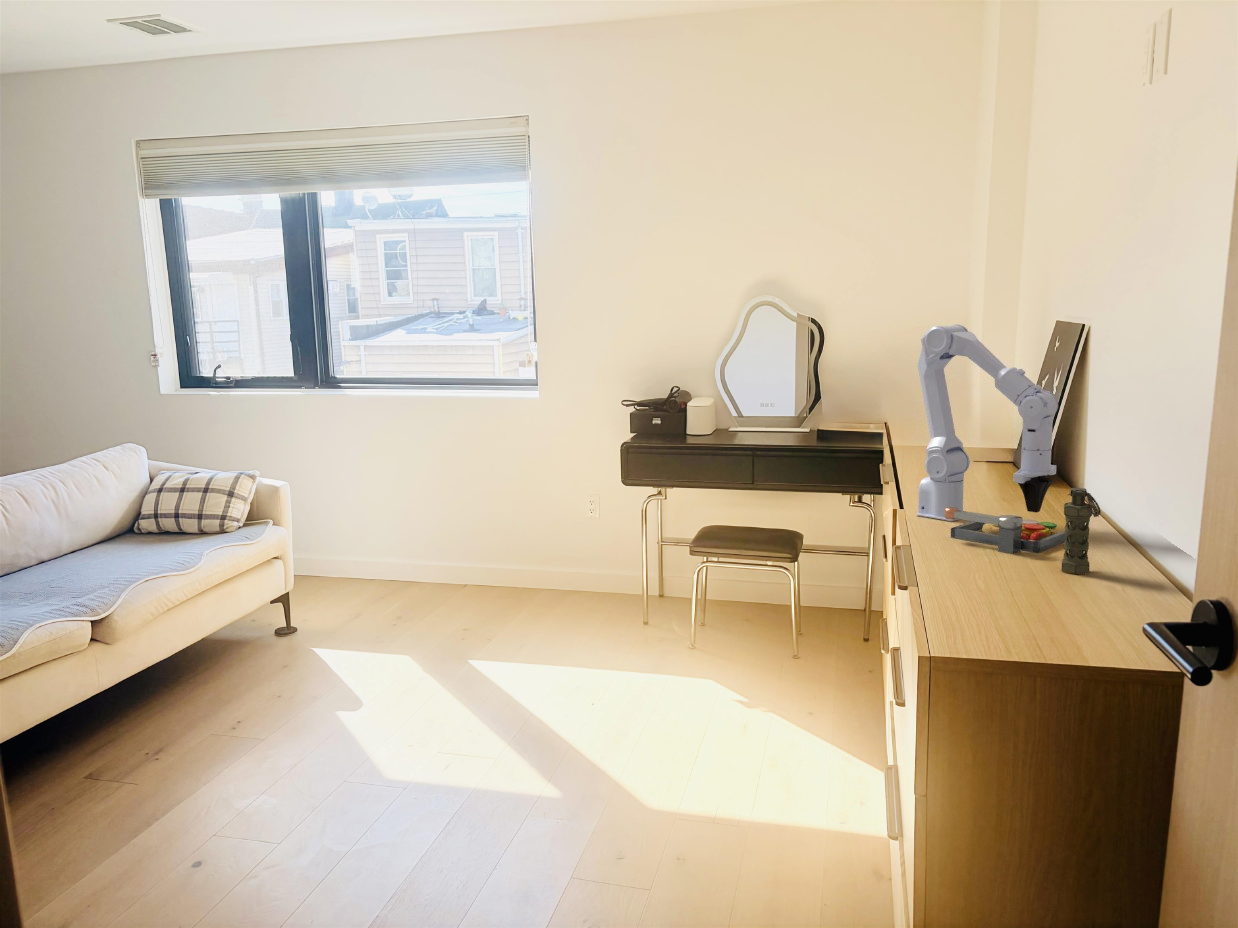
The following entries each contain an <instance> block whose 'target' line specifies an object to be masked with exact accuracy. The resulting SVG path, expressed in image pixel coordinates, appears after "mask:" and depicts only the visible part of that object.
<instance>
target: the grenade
mask: <svg viewBox="0 0 1238 928" xmlns="http://www.w3.org/2000/svg"><path fill="white" fill-rule="evenodd" d="M1067 496H1071V502H1064V505H1063V515H1064V517H1065V518H1064V519H1065V526H1064V531H1065V536H1066V537H1065V541H1064V543H1063V547H1064V553H1063V558H1062V559H1061V571H1062V572H1064V573H1065V574H1066V573H1067V574H1070V575H1086V574H1089V573H1090V561H1089V555H1088V552H1089V549H1090V547H1089V546H1090V545H1089V538H1090V537H1089V536H1090V527H1089V526H1090V520H1091V517H1092V516H1093V517H1094V518H1098V517H1099V516H1100V515H1101V513H1102V512H1101V511H1102V510H1101V508H1100V505H1099V503H1098V502H1097V501H1096V499H1095V498H1094V497H1093V495H1092V494H1091V493H1089V492H1088V490H1087V488H1082V487H1081V488H1080V487H1072V488H1070V492H1069V493H1068V494H1067ZM1086 499H1087V501H1088V502H1086ZM1068 537H1069V539H1068Z"/></svg>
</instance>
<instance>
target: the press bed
mask: <svg viewBox="0 0 1238 928" xmlns="http://www.w3.org/2000/svg"><path fill="white" fill-rule="evenodd" d="M984 524H986V523H982V522H975V521H968V522H965V523H962V524H959V525H956V526H953V527H950V538H952V539H957V540H964V541H969V542H974V543H980V544H983V545H984V544H985V545H991V546H995V547H997V552H999V553H1006V554H1009V553H1010V555H1015V554H1017V553H1020V552H1021V551H1022V552H1023V551H1024V552H1029V553H1033V554H1039V553H1042V552H1045V551H1047V550H1050V549H1052V548H1055V547H1057V546H1061V545H1062V544H1063V545H1064V541H1065V537H1066V536H1065V530H1062V531H1060V532H1057V533H1055V534H1054V535H1052V536H1049V537H1046V538H1043V539H1041V540H1038V541H1029V540H1024V539H1021V529H1004V528H999V535H995V534H989V533H986V532H984V531H982V528H983V525H984ZM981 531H982V532H981ZM1068 539H1069V537H1068ZM1014 553H1015V554H1014Z"/></svg>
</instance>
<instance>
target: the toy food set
mask: <svg viewBox="0 0 1238 928" xmlns="http://www.w3.org/2000/svg"><path fill="white" fill-rule="evenodd" d="M1057 527H1058V525H1057V523H1054V522H1049V521H1041V522H1039V521H1038V520H1035V519H1029V518H1028V519H1025V518H1023V527H1022V528H1021V539H1024V540H1029V541H1038V540H1041V539H1043V538H1046V537H1049V536H1052V535H1054V534H1056V533H1055V532H1053V531H1054V530H1055V529H1057ZM999 528H1000V527H998V525H994V524H988V523H986V524H984V525H983V528H982V529H981V531H982V532H983V533H989V534H995V535H999ZM1052 530H1053V531H1052Z"/></svg>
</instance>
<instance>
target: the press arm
mask: <svg viewBox="0 0 1238 928" xmlns="http://www.w3.org/2000/svg"><path fill="white" fill-rule="evenodd" d="M945 518H946V519H958V520H964V521H968V522H972V521H975V522H982V523H988V524H994V525H998V527H1000V528H1004V529H1021V528H1022V527H1023V519H1024V518H1023V517H1022V516H1019V515H1010V514H1008V515H1007V514H1006V515H1004V514H1002V515H999V516H998V515H992V514H986V513H979V512H974V511H973V512H972V511H965V510H963V511H961V510H958V508H955V507H947V508H945Z"/></svg>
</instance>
